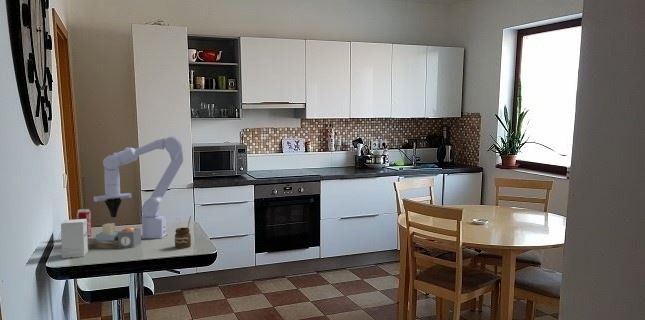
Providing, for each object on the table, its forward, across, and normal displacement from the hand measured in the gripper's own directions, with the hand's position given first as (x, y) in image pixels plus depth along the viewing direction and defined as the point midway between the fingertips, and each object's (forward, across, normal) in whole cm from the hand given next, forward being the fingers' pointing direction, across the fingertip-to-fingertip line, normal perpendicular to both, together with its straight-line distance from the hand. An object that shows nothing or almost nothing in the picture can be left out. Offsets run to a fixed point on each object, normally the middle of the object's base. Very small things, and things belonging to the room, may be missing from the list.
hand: (113, 216), depth 192 cm
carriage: (+7, -6, -10) cm, 13 cm away
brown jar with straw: (+10, +13, -34) cm, 37 cm away
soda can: (+10, -8, +12) cm, 17 cm away
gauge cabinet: (+9, 0, -16) cm, 18 cm away
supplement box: (+10, -20, -15) cm, 27 cm away
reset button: (+5, 0, -16) cm, 16 cm away
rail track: (+9, -8, -7) cm, 14 cm away
